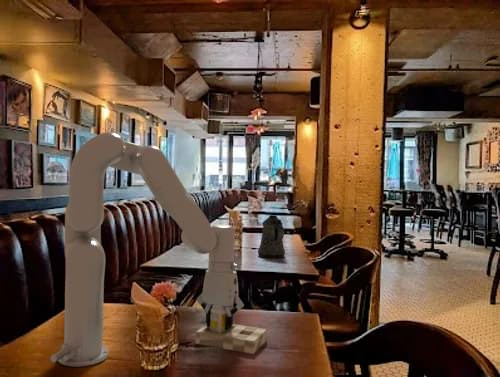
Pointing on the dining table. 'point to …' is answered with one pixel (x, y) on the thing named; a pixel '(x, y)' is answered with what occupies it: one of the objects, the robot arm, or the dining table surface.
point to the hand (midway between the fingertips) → (219, 326)
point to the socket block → (233, 338)
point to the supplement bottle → (218, 319)
